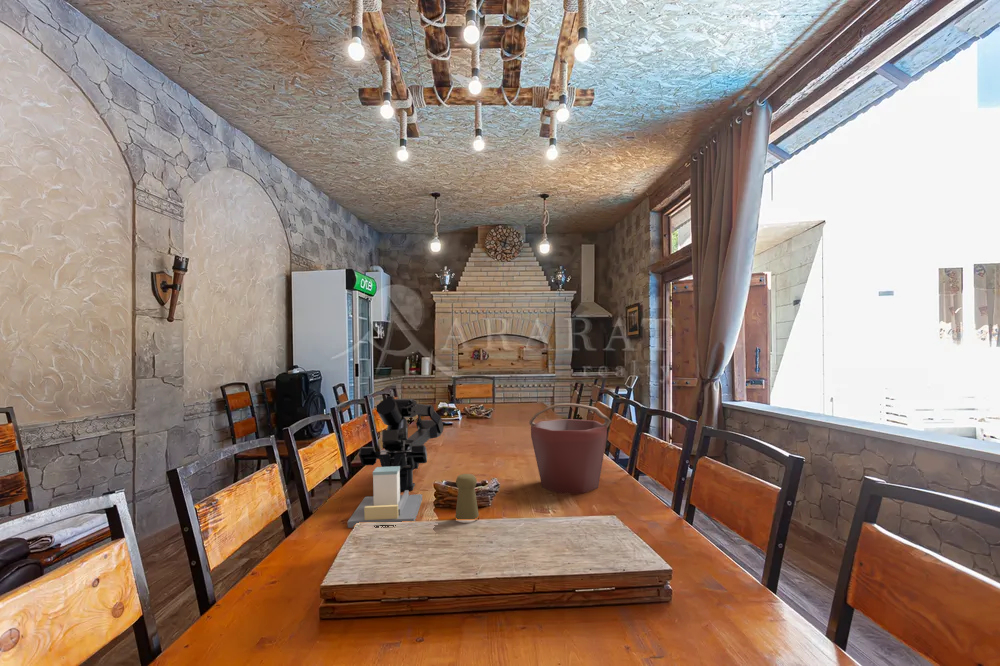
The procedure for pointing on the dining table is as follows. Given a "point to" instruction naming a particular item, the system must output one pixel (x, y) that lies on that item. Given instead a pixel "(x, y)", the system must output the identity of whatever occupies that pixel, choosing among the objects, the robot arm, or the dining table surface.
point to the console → (387, 510)
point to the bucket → (569, 451)
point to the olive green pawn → (466, 497)
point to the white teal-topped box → (386, 485)
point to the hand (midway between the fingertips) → (390, 481)
